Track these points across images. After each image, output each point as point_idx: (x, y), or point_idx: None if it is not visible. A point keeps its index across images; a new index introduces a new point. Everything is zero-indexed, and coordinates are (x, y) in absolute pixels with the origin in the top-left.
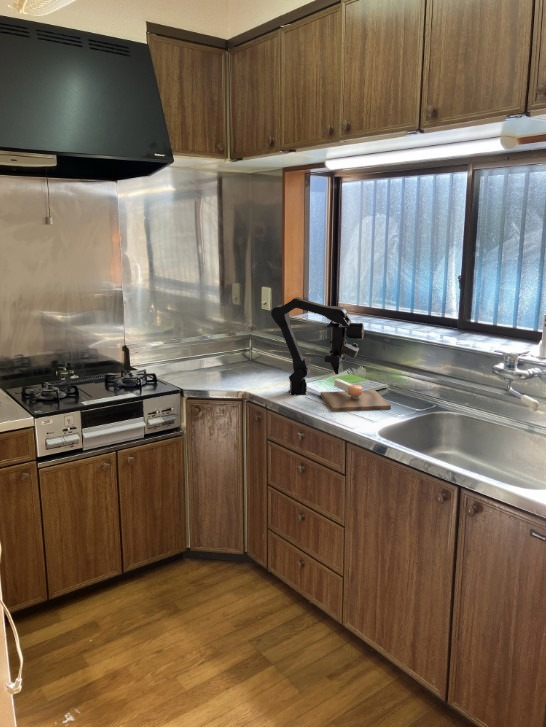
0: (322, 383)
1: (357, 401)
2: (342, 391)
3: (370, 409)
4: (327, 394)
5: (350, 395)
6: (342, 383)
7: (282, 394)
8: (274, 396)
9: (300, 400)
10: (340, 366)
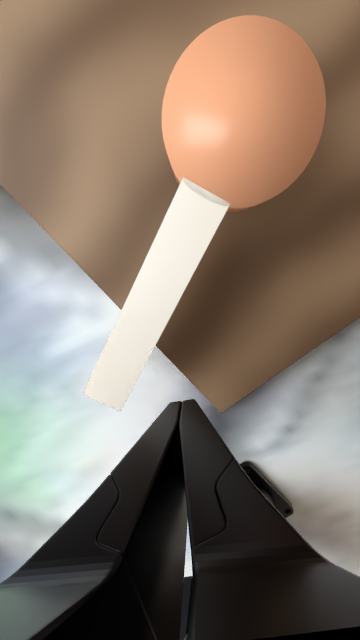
0: (22, 471)
1: None
2: None
3: None
4: (241, 362)
5: None
6: (173, 310)
7: None
8: (338, 552)
9: (342, 447)
10: (116, 470)
